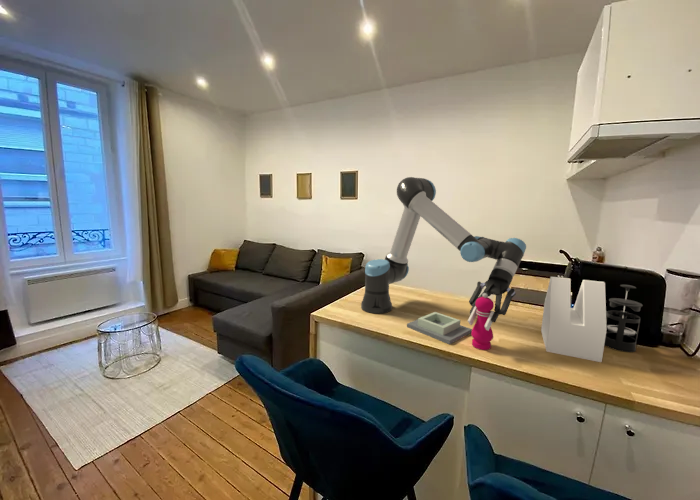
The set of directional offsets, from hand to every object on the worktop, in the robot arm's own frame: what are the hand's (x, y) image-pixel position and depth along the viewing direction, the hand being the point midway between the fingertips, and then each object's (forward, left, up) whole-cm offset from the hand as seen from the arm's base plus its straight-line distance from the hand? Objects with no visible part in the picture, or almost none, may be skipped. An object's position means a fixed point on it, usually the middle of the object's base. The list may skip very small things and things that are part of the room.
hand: (477, 325), depth 106 cm
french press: (+32, +44, -9) cm, 55 cm away
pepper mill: (0, +4, -9) cm, 10 cm away
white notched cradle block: (+20, +30, -9) cm, 37 cm away
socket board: (-18, +4, -9) cm, 20 cm away
